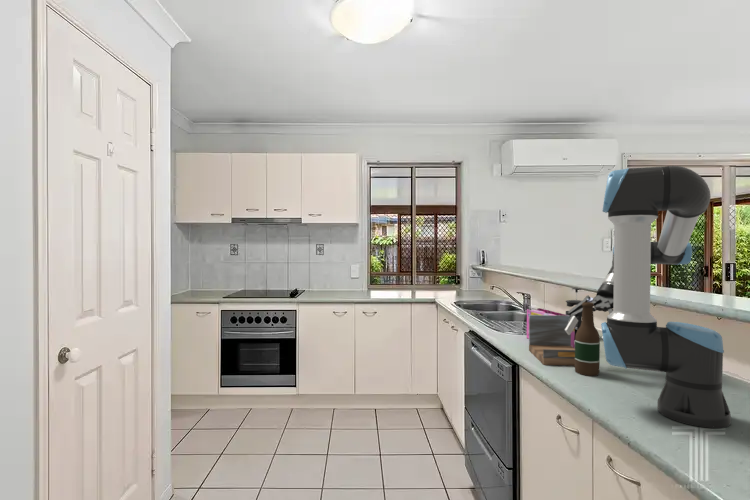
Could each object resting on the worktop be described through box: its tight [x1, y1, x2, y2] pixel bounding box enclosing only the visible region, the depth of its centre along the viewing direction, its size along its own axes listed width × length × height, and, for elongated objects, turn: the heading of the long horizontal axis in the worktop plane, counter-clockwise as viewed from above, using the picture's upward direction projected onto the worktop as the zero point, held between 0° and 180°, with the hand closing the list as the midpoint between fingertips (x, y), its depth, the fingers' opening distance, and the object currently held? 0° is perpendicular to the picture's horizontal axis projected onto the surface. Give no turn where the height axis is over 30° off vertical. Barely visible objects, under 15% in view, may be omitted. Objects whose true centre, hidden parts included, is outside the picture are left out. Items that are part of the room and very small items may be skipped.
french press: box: [565, 287, 582, 340], centre depth 195 cm, size 12×9×23 cm
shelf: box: [528, 315, 575, 367], centre depth 163 cm, size 20×16×14 cm
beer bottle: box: [574, 302, 601, 377], centre depth 144 cm, size 8×8×24 cm
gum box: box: [526, 307, 576, 348], centre depth 186 cm, size 24×8×14 cm, turn 15°
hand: (584, 336), depth 144 cm, fingers open, 13 cm apart
